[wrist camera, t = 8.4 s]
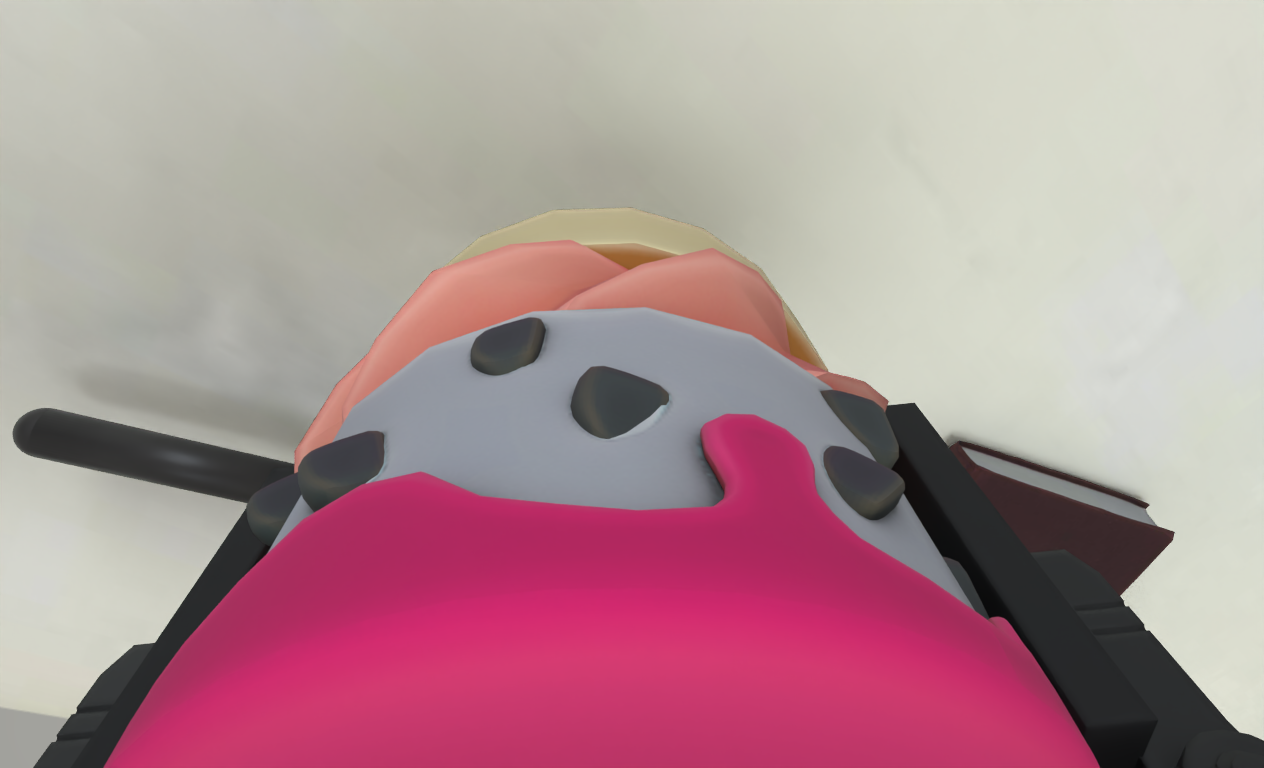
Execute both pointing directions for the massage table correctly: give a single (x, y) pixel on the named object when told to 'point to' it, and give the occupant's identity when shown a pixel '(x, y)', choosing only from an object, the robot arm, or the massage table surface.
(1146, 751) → the robot arm
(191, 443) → the pan handle
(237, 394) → the massage table surface
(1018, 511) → the book
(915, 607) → the cake
